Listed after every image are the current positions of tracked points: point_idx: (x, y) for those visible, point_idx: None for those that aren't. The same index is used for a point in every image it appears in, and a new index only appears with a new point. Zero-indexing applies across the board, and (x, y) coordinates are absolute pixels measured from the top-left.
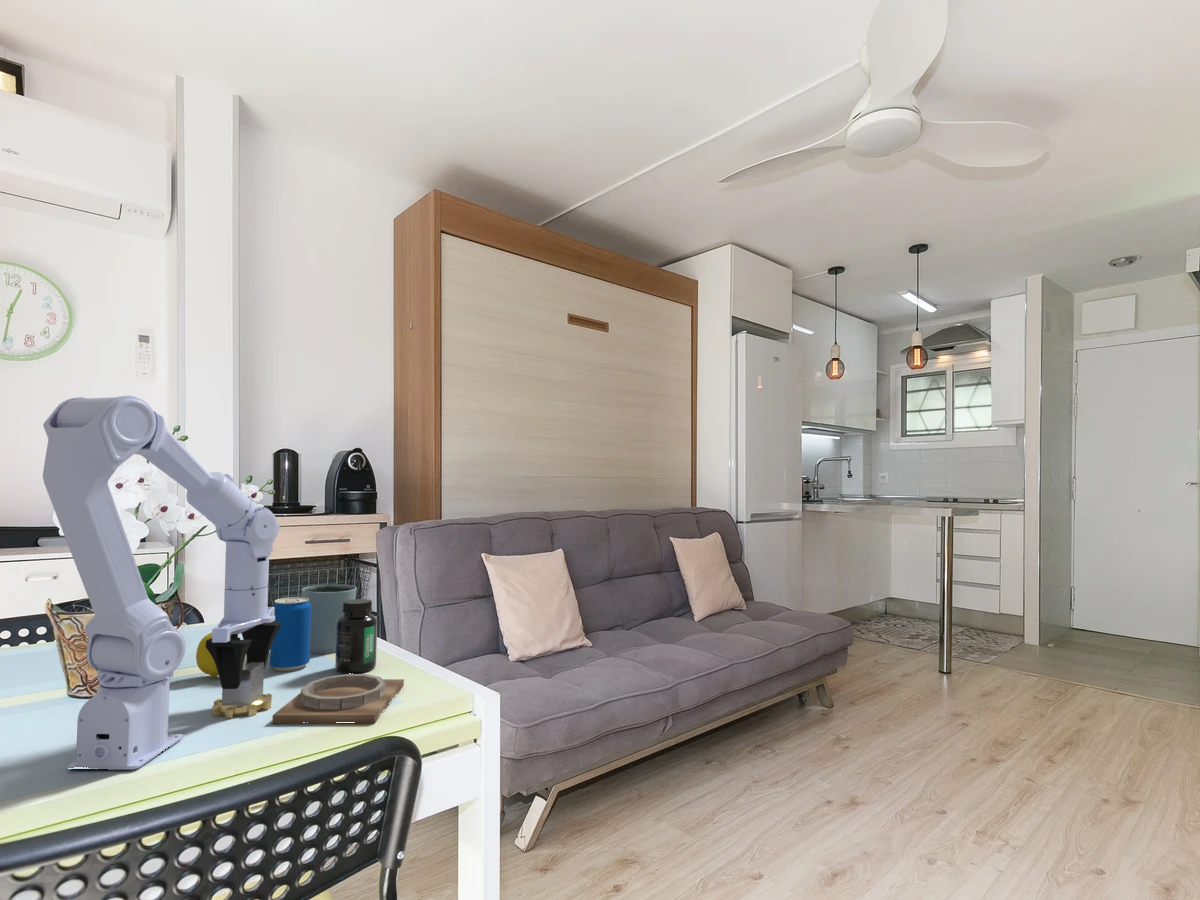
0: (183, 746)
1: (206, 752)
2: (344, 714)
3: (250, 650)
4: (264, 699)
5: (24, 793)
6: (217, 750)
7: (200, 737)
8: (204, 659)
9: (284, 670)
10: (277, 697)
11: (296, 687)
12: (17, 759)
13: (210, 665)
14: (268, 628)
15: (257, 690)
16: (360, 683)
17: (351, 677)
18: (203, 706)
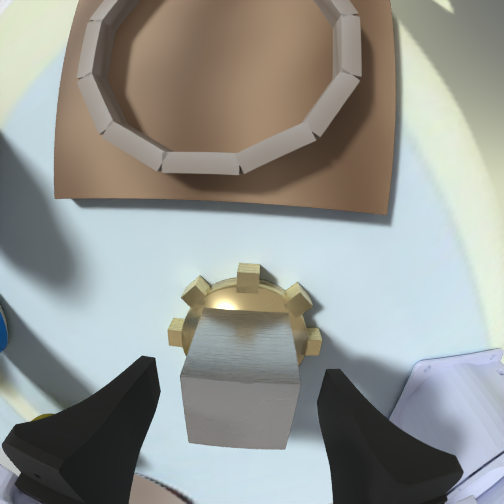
0: (447, 340)
1: (483, 287)
2: (389, 19)
3: (134, 443)
4: (239, 291)
5: None
6: (482, 272)
7: (417, 336)
8: None
9: (4, 315)
10: (151, 275)
11: (74, 252)
12: None
13: None
14: (81, 479)
15: (241, 325)
16: (112, 36)
17: (97, 57)
18: None
